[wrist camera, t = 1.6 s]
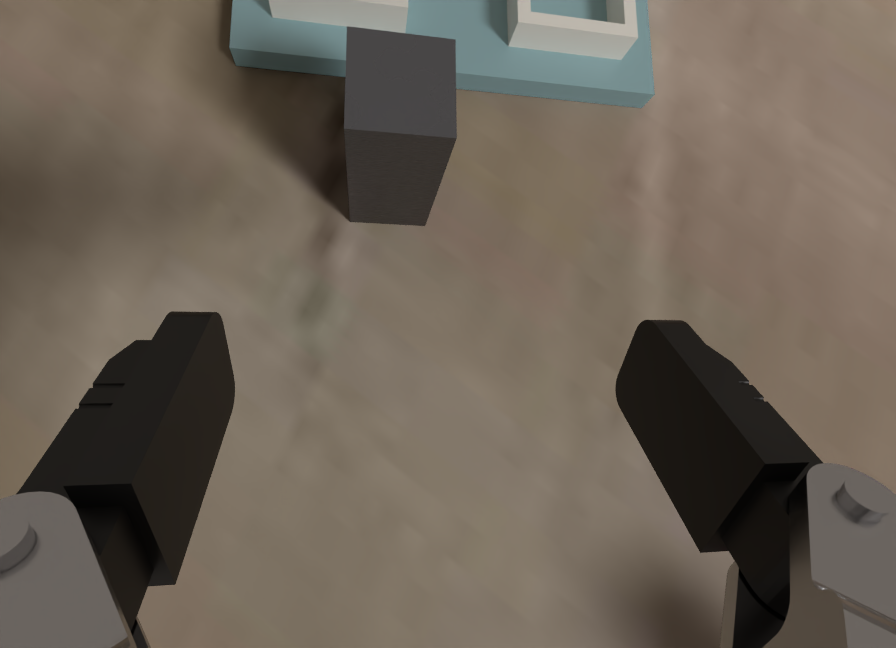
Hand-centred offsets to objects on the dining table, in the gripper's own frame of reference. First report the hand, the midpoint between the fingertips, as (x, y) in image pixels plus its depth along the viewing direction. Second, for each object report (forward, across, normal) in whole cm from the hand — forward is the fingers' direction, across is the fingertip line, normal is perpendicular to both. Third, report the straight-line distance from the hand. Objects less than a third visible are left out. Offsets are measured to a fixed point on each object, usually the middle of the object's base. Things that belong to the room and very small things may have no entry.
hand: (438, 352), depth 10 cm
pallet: (+30, -4, -5) cm, 31 cm away
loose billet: (+21, 0, +5) cm, 22 cm away
